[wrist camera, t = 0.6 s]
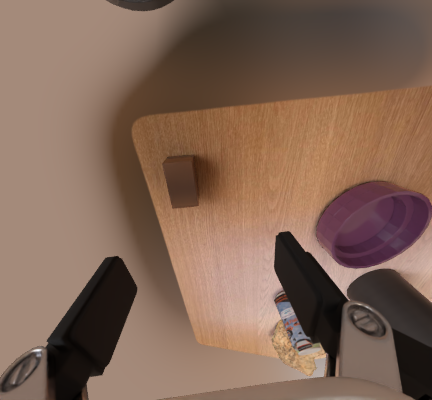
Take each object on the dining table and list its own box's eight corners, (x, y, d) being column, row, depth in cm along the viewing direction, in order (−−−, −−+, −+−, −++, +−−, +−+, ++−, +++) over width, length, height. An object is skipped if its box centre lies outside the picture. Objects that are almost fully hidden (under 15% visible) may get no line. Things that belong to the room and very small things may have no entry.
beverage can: (289, 283, 42) (319, 341, 31) (299, 297, 45) (329, 353, 34) (268, 293, 43) (289, 352, 32) (279, 305, 46) (302, 362, 35)
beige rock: (276, 295, 54) (283, 312, 47) (320, 306, 53) (335, 326, 45) (264, 343, 56) (269, 367, 48) (307, 355, 54) (319, 382, 47)
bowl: (299, 223, 33) (314, 240, 28) (381, 160, 28) (416, 169, 23) (337, 261, 39) (355, 279, 34) (411, 215, 34) (442, 230, 29)
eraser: (167, 156, 25) (161, 163, 21) (193, 154, 25) (192, 160, 21) (176, 197, 28) (172, 208, 24) (199, 195, 28) (198, 206, 25)
